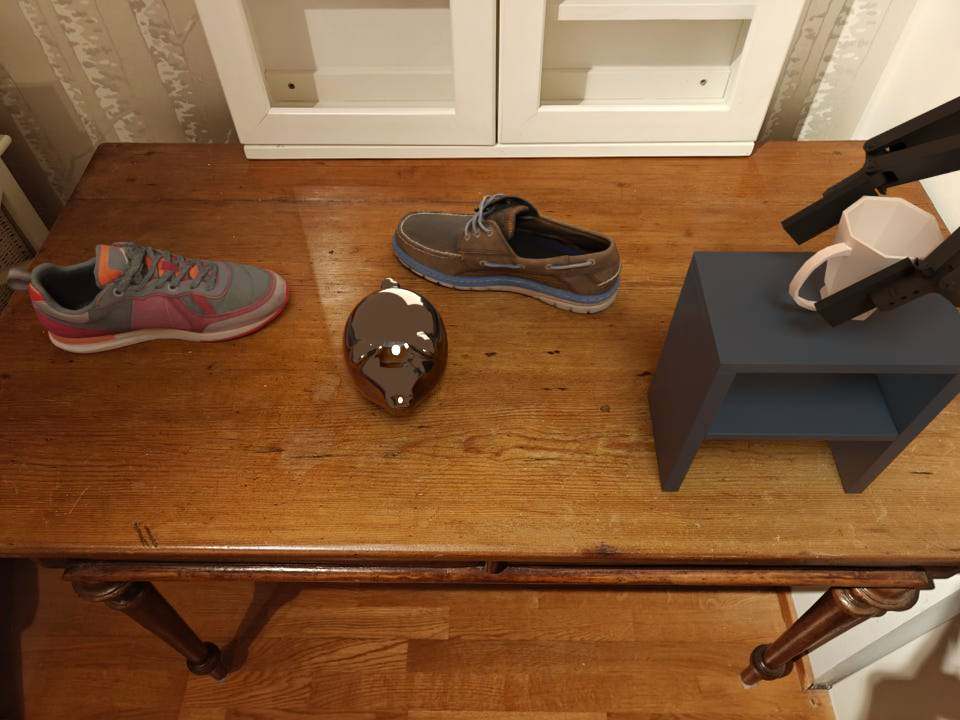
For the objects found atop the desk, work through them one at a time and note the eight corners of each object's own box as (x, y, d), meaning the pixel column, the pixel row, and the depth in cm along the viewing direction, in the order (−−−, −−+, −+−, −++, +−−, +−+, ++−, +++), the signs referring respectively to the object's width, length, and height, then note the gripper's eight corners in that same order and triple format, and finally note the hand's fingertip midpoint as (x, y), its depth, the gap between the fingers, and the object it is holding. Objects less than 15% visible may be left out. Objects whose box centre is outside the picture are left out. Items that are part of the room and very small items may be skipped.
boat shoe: (409, 221, 95) (401, 157, 86) (624, 262, 90) (638, 197, 81) (382, 276, 89) (371, 213, 80) (610, 323, 84) (624, 260, 75)
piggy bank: (353, 444, 74) (333, 383, 65) (350, 334, 83) (333, 267, 74) (457, 432, 75) (453, 370, 66) (444, 325, 84) (438, 257, 75)
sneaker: (296, 331, 83) (271, 260, 74) (48, 372, 80) (-12, 303, 71) (292, 271, 89) (268, 198, 80) (61, 306, 86) (7, 235, 76)
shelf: (827, 394, 77) (928, 251, 60) (861, 493, 70) (986, 365, 53) (646, 393, 78) (693, 251, 60) (662, 491, 71) (720, 363, 53)
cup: (912, 322, 55) (969, 248, 49) (801, 352, 54) (844, 279, 47) (859, 261, 59) (904, 185, 53) (753, 287, 58) (787, 212, 51)
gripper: (1317, 231, 37) (873, 405, 49) (1099, 25, 49) (789, 207, 62) (1312, 148, 32) (827, 362, 45) (1075, -55, 45) (747, 159, 57)
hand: (806, 272), depth 53 cm, fingers open, 8 cm apart
